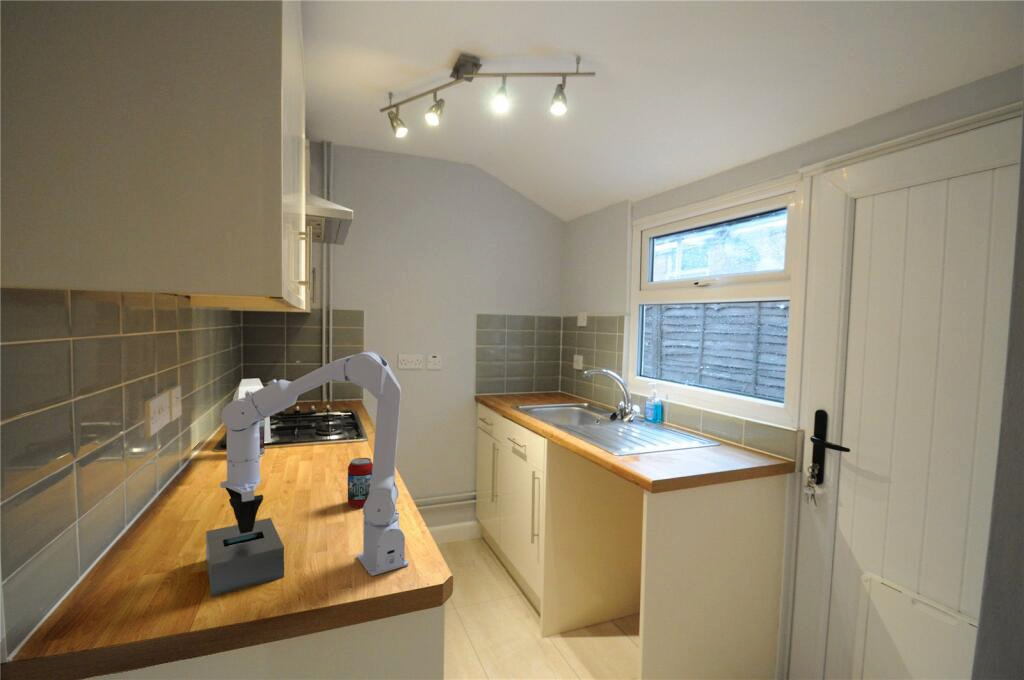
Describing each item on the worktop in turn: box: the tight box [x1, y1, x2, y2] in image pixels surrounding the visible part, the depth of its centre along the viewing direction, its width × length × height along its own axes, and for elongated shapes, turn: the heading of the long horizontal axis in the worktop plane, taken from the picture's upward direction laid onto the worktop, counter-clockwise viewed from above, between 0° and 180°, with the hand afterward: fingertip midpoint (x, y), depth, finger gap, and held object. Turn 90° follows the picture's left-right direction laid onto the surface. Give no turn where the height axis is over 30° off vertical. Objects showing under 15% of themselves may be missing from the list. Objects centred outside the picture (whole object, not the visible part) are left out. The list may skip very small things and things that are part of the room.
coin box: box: [205, 517, 285, 598], centre depth 94 cm, size 16×12×6 cm
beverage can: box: [347, 457, 373, 508], centre depth 128 cm, size 7×7×12 cm
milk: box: [232, 377, 272, 443], centre depth 184 cm, size 12×12×26 cm
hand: (243, 524), depth 94 cm, fingers open, 7 cm apart
